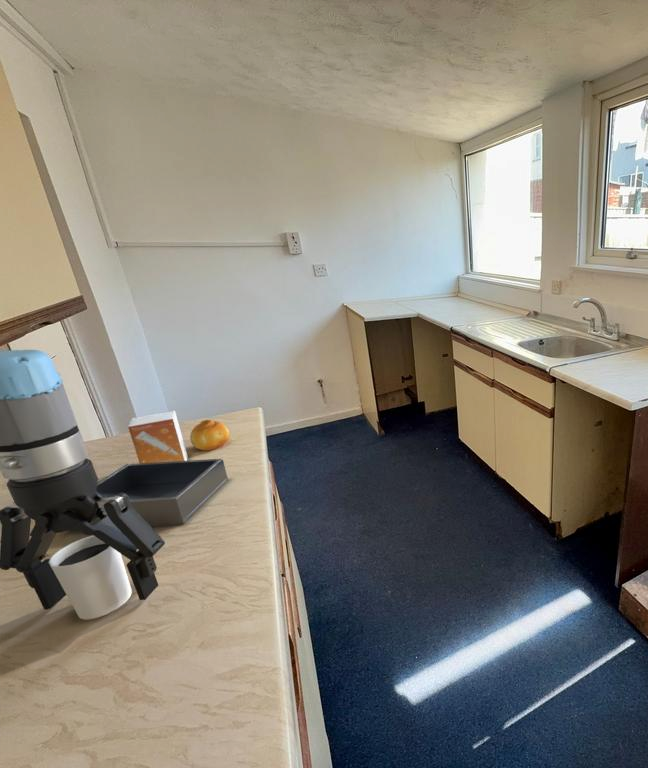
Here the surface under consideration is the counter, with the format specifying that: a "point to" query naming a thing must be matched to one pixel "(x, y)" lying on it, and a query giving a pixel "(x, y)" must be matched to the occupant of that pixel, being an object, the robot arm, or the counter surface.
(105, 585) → the white cup
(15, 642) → the counter surface
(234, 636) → the counter surface
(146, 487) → the tray
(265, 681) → the counter surface
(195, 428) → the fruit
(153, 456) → the small box
